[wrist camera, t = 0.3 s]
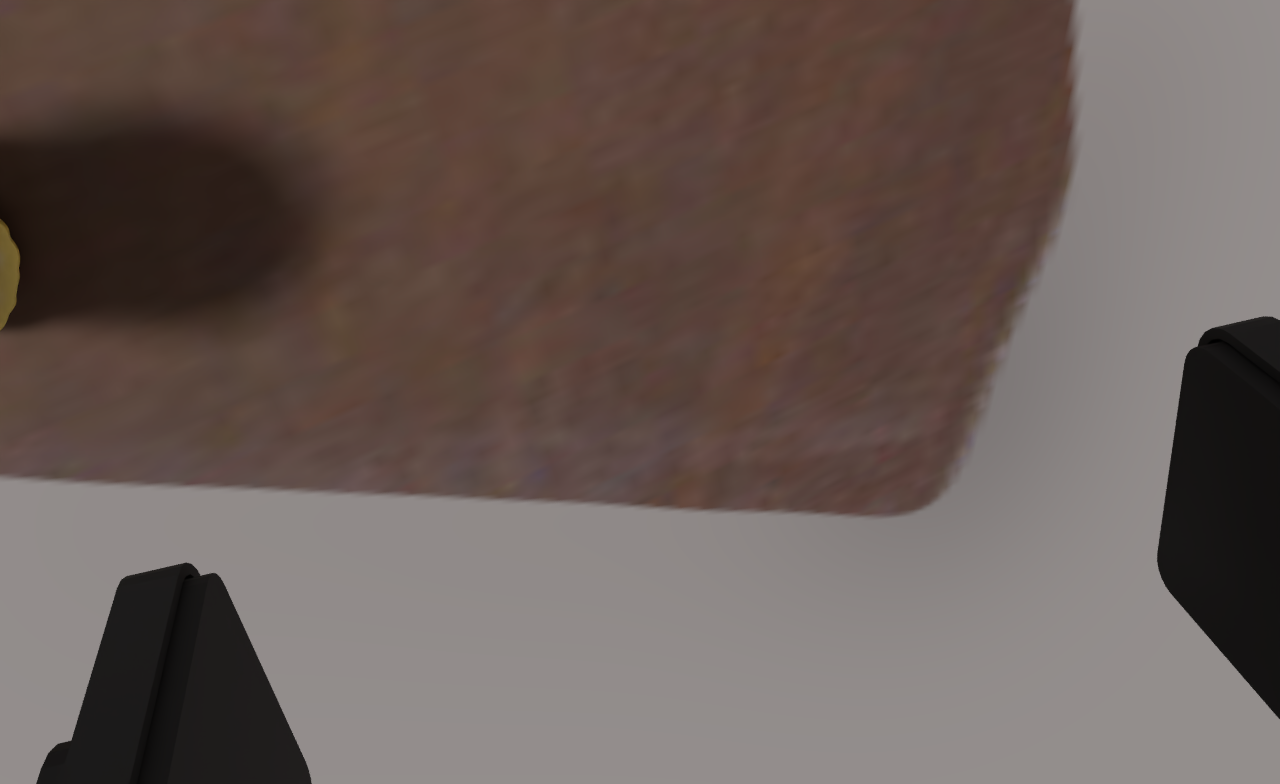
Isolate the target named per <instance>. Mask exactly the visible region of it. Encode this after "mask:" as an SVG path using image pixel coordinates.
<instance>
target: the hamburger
mask: <svg viewBox="0 0 1280 784" xmlns="http://www.w3.org/2000/svg"><path fill="white" fill-rule="evenodd" d="M19 265H20V253H19V249H18V247H17V245H16V244H15V242H14V241H13V239H12V238H11V237H10V231H9V229H8V227H7V225H6V224H5V223H4V222H3V221H2V220H1V219H0V331H1V330H2V328H3V327H4V326H5V324H6V322H7V319H8V316H9V314H10V312H11V311H12V310H13V309H14V307H15V305H16V301H17V299H16V293H17V287H18V283H19V279H20V272H19Z"/></svg>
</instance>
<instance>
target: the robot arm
mask: <svg viewBox="0 0 1280 784" xmlns="http://www.w3.org/2000/svg"><path fill="white" fill-rule="evenodd" d="M1157 562H1158V567H1159V572H1160V575H1161V578H1162V580H1163V582H1164V584H1165V586H1166V587H1167V589H1168V590H1169V592H1170V593H1171V594H1172V595H1173V596H1174V598H1175V599H1176V600H1177V601H1178V602H1179V604H1180V605H1181V606H1182V607H1183V608H1184V609H1185V610H1186V612H1187V613H1188V614H1189V615H1190V616H1191V617H1192V618H1193V620H1194V621H1195V622H1196V623H1197V624H1198V625H1199V627H1200V628H1201V629H1202V630H1203V631H1204V632H1205V634H1206V635H1207V636H1208V637H1209V638H1210V639H1211V640H1212V642H1213V643H1214V644H1215V645H1216V646H1217V647H1218V649H1219V650H1220V651H1221V652H1222V653H1223V654H1224V656H1225V657H1226V658H1227V659H1228V660H1229V661H1230V662H1231V663H1232V665H1233V666H1234V667H1235V668H1236V669H1237V671H1238V672H1239V673H1240V674H1241V675H1242V676H1243V677H1244V679H1245V680H1246V681H1247V682H1248V683H1249V684H1250V686H1251V687H1252V688H1253V689H1254V690H1255V691H1256V693H1257V694H1258V695H1259V696H1260V697H1261V698H1262V699H1263V701H1264V702H1265V703H1266V704H1267V705H1268V706H1269V708H1270V709H1271V710H1272V711H1273V712H1274V713H1275V714H1276V716H1277V717H1278V718H1279V719H1280V320H1278V319H1276V318H1273V317H1259V318H1254V319H1250V320H1246V321H1241V322H1237V323H1233V324H1229V325H1224V326H1220V327H1215V328H1212V329H1210V330H1208V331H1206V332H1205V333H1204V334H1203V336H1202V337H1201V338H1200V340H1199V344H1198V347H1195V348H1193V349H1191V350H1190V351H1189V353H1188V354H1187V356H1186V359H1185V363H1184V370H1183V377H1182V384H1181V391H1180V398H1179V406H1178V412H1177V419H1176V426H1175V433H1174V440H1173V447H1172V454H1171V461H1170V468H1169V475H1168V482H1167V489H1166V496H1165V503H1164V511H1163V518H1162V524H1161V531H1160V539H1159V546H1158V553H1157ZM36 784H312V783H311V777H310V774H309V770H308V767H307V764H306V761H305V759H304V757H303V755H302V753H301V751H300V748H299V746H298V744H297V742H296V740H295V737H294V736H293V733H292V731H291V729H290V727H289V724H288V722H287V720H286V718H285V716H284V714H283V712H282V709H281V707H280V705H279V703H278V701H277V698H276V696H275V694H274V692H273V690H272V687H271V685H270V683H269V681H268V679H267V677H266V674H265V672H264V670H263V668H262V666H261V663H260V661H259V659H258V657H257V655H256V652H255V650H254V648H253V646H252V644H251V642H250V639H249V637H248V635H247V633H246V631H245V629H244V626H243V624H242V622H241V620H240V618H239V615H238V614H237V611H236V609H235V607H234V605H233V602H232V600H231V598H230V596H229V594H228V591H227V589H226V587H225V585H224V583H223V581H222V580H221V578H220V577H219V576H218V575H217V574H215V573H211V574H206V575H202V576H200V574H199V573H198V570H197V569H196V568H195V567H194V566H193V565H192V564H189V563H183V564H178V565H174V566H170V567H165V568H161V569H157V570H152V571H148V572H143V573H139V574H135V575H130V576H126V577H125V578H123V579H122V580H121V581H120V584H119V585H118V588H117V590H116V594H115V597H114V601H113V604H112V607H111V611H110V614H109V617H108V621H107V624H106V627H105V631H104V634H103V637H102V640H101V644H100V647H99V650H98V654H97V657H96V661H95V664H94V667H93V670H92V674H91V677H90V680H89V684H88V687H87V690H86V694H85V697H84V700H83V704H82V707H81V711H80V714H79V717H78V720H77V724H76V727H75V730H74V734H73V737H72V741H68V742H64V743H60V744H57V745H56V746H55V747H54V748H53V749H52V750H51V751H50V752H49V753H48V755H47V757H46V760H45V762H44V764H43V766H42V768H41V771H40V774H39V777H38V780H37V783H36Z"/></svg>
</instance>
